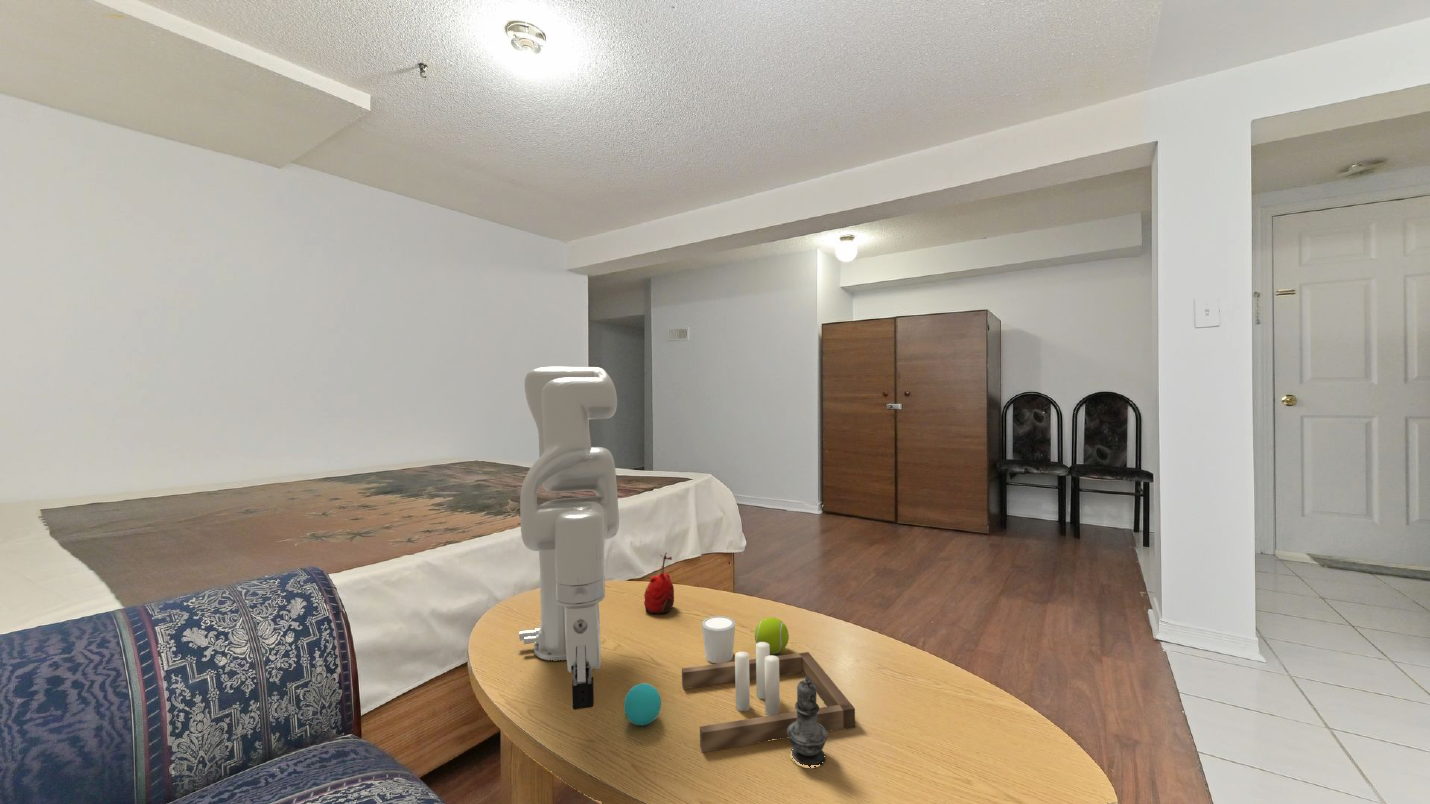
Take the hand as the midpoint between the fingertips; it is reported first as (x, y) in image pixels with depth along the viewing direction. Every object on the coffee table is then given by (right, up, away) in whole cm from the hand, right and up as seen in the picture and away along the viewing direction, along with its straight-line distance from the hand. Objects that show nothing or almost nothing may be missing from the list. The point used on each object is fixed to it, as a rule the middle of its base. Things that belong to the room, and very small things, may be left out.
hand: (583, 705), depth 84 cm
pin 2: (+31, -4, +5) cm, 31 cm away
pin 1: (+29, -4, +10) cm, 31 cm away
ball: (+9, -1, +3) cm, 10 cm away
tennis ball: (+33, -4, +26) cm, 42 cm away
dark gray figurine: (+35, -4, -6) cm, 35 cm away
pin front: (+26, -4, +7) cm, 27 cm away
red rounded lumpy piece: (+7, -4, +48) cm, 48 cm away
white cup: (+22, -4, +24) cm, 33 cm away
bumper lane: (+29, -4, +7) cm, 30 cm away
